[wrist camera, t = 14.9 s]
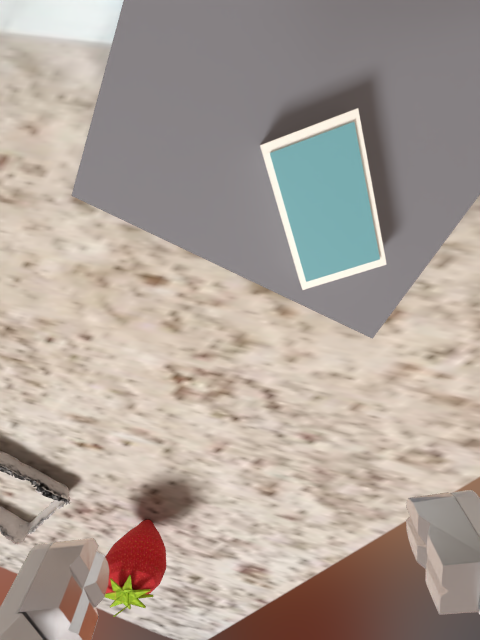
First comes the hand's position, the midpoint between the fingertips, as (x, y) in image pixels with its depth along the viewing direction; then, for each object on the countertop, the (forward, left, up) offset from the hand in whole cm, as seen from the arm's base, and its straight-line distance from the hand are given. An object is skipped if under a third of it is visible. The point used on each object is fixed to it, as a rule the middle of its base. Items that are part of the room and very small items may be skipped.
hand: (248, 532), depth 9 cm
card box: (+6, +3, -20) cm, 21 cm away
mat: (-1, +10, -22) cm, 24 cm away
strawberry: (+3, -33, -22) cm, 39 cm away
